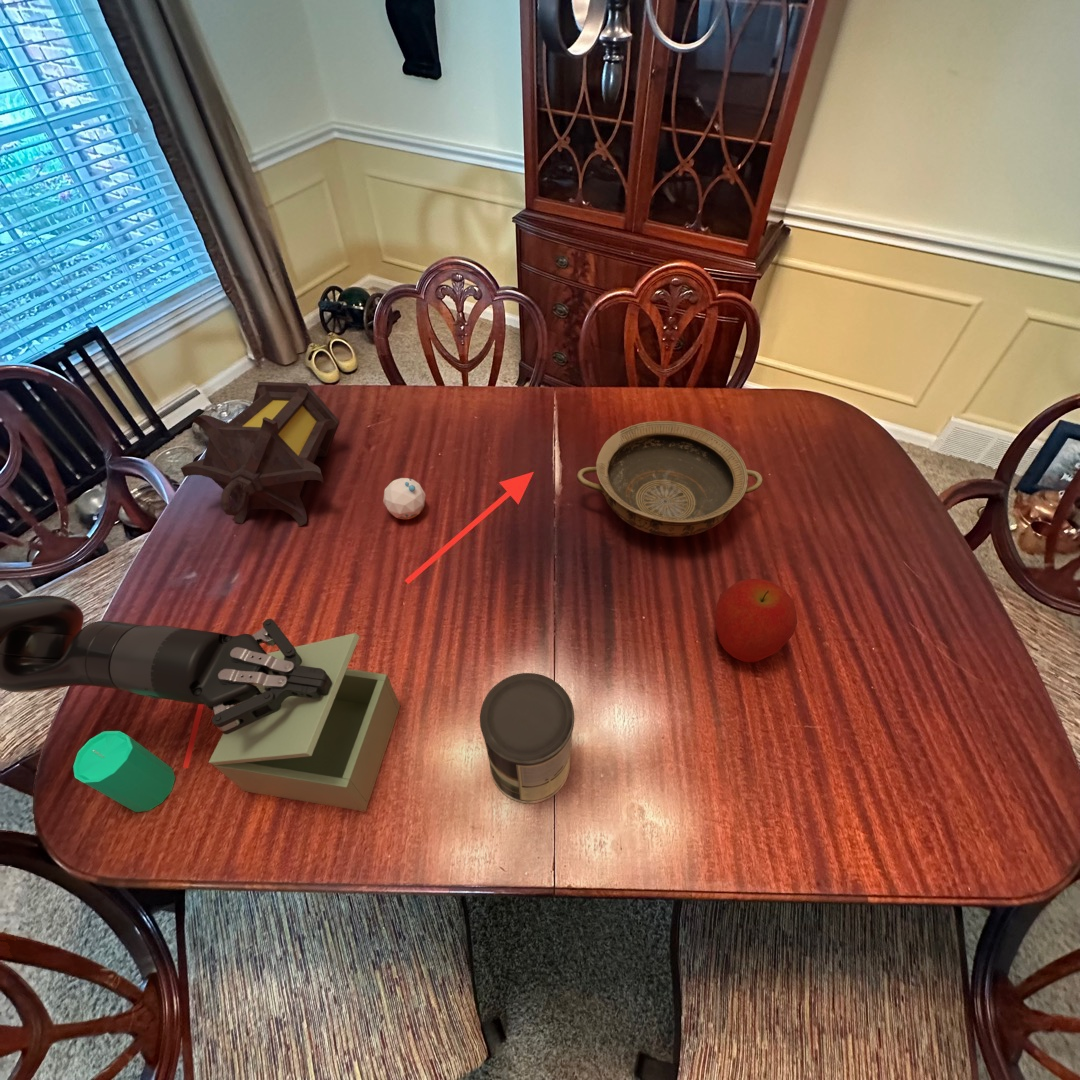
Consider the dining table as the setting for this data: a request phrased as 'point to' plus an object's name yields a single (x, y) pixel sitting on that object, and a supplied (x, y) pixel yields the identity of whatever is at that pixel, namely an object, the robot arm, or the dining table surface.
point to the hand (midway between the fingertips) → (327, 684)
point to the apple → (754, 619)
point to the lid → (291, 711)
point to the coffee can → (528, 736)
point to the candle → (124, 771)
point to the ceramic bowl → (670, 477)
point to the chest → (333, 750)
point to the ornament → (404, 498)
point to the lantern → (267, 450)
